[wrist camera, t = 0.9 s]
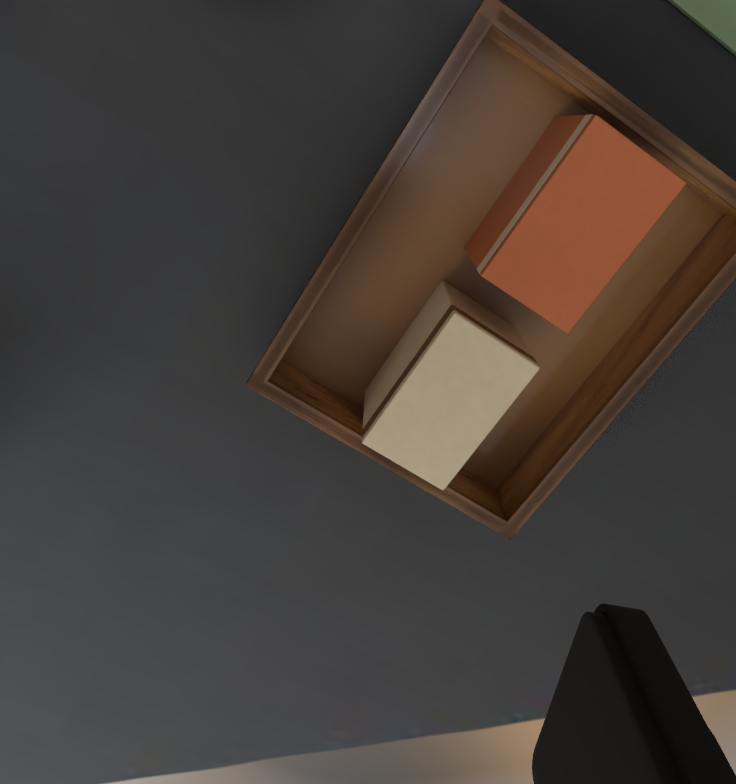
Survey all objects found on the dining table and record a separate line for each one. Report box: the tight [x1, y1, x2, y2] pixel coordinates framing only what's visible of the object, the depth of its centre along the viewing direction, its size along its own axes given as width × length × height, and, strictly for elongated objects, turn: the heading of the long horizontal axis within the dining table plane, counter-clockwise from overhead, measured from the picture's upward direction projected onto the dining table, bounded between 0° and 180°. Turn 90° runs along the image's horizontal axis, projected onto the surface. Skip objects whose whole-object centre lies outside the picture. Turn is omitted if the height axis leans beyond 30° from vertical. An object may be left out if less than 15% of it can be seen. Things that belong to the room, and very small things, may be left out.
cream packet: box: [361, 280, 540, 490], centre depth 36 cm, size 5×8×7 cm, turn 147°
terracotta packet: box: [464, 114, 686, 333], centre depth 33 cm, size 5×8×7 cm, turn 147°
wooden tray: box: [245, 0, 736, 540], centre depth 36 cm, size 18×22×4 cm
